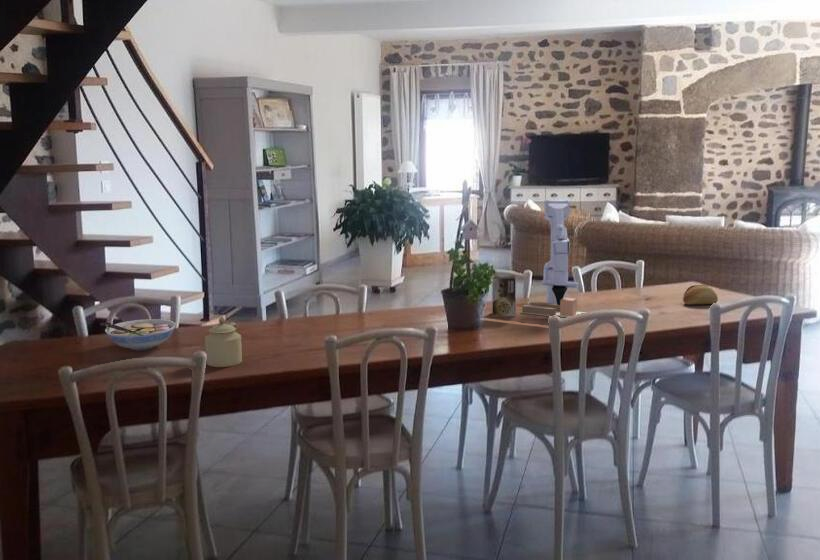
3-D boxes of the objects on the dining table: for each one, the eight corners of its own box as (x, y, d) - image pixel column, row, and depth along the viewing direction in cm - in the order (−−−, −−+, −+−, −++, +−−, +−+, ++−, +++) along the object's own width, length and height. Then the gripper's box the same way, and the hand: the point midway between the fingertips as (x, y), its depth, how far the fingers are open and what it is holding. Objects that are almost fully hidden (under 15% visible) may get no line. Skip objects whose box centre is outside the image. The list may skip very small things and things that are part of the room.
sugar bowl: (204, 356, 245) (201, 311, 242) (239, 353, 248) (236, 308, 246) (207, 369, 231) (204, 321, 228) (244, 365, 234) (241, 318, 232)
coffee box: (515, 315, 298) (515, 275, 295) (515, 318, 291) (516, 277, 288) (491, 314, 299) (492, 274, 296) (491, 318, 292) (492, 277, 289)
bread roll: (676, 303, 317) (677, 284, 315) (708, 301, 320) (709, 282, 319) (690, 307, 307) (691, 288, 306) (722, 305, 311) (723, 286, 309)
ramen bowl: (192, 347, 256) (190, 323, 255) (129, 361, 240) (127, 336, 238) (154, 335, 273) (152, 313, 271) (92, 348, 256) (90, 325, 255)
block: (564, 312, 297) (564, 297, 296) (576, 313, 294) (576, 298, 293) (560, 314, 293) (560, 299, 292) (572, 316, 290) (572, 300, 289)
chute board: (532, 309, 308) (533, 300, 307) (590, 315, 295) (590, 306, 295) (521, 315, 297) (521, 306, 297) (580, 321, 285) (580, 312, 285)
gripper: (538, 270, 293) (538, 304, 295) (574, 273, 285) (573, 308, 288) (545, 268, 299) (544, 301, 301) (580, 270, 291) (579, 305, 294)
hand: (559, 304), depth 295 cm, fingers closed
